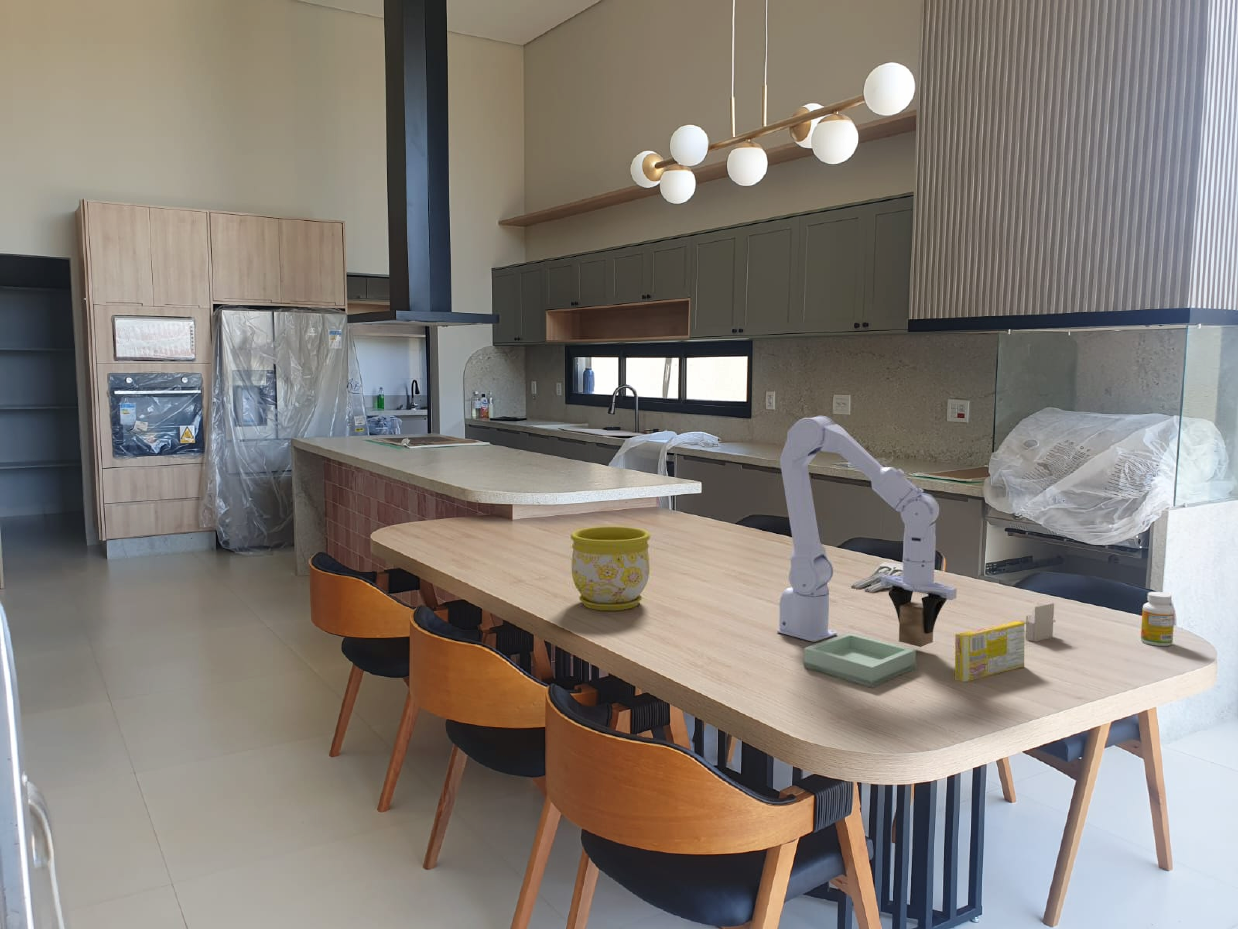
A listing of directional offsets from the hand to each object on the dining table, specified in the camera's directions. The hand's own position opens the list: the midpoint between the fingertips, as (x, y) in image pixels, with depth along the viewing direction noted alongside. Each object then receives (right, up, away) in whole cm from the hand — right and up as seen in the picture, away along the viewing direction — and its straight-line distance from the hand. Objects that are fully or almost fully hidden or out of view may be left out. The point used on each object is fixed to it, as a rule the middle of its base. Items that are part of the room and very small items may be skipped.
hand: (916, 629), depth 171 cm
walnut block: (0, -2, 0) cm, 2 cm away
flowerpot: (-58, -1, +35) cm, 68 cm away
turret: (+10, +1, +52) cm, 53 cm away
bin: (-13, -5, -9) cm, 17 cm away
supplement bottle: (+49, -4, +6) cm, 50 cm away
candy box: (+9, -6, -11) cm, 16 cm away
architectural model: (+27, -4, +9) cm, 29 cm away
